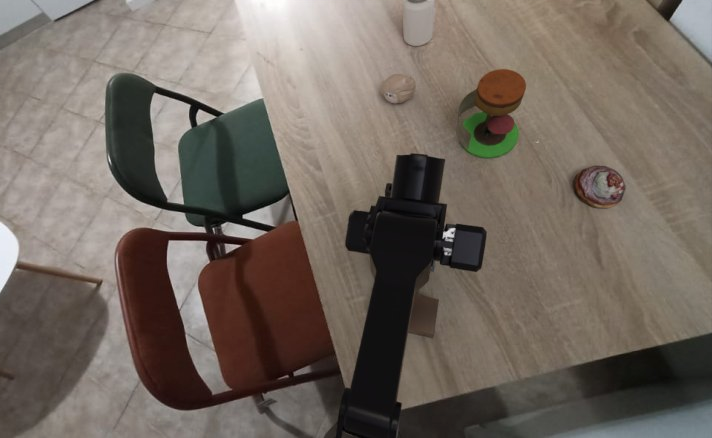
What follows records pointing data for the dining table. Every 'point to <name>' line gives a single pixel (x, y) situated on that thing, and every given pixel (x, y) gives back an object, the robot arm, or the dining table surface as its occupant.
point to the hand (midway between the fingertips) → (415, 239)
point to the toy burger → (491, 114)
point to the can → (418, 21)
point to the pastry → (599, 186)
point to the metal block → (423, 316)
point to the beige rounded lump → (398, 88)
